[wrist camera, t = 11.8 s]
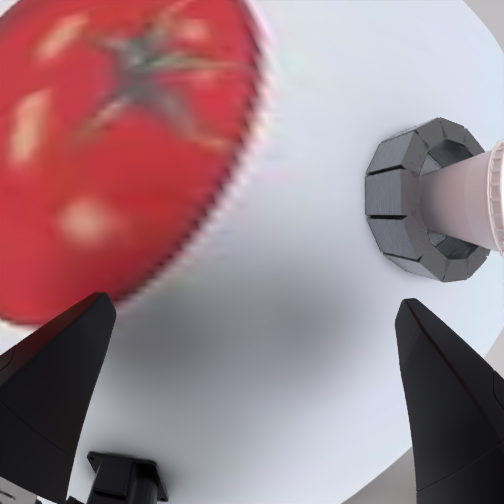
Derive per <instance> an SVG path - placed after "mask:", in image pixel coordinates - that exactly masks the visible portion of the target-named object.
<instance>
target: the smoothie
mask: <svg viewBox="0 0 504 504" xmlns="http://www.w3.org/2000/svg"><path fill="white" fill-rule="evenodd" d="M419 212H420V215H421V217H422V220H423V223H424V225H425V228H426V229H427V230H430V231H434V232H437V233H441V234H444V235H447V236H451V237H454V238H457V239H460V240H464V241H467V242H470V243H473V244H476V245H479V246H482V247H485V248H487V249H491V250H494V251H497V252H499V253H500V255H501V256H502V257H503V258H504V140H502V141H499V142H497V144H496V145H495V146H494V148H493V149H492V150H491V151H488V152H485V153H482V154H479V155H477V156H474V157H471V158H468V159H466V160H463V161H460V162H457V163H455V164H452V165H449V166H447V167H444V168H441V169H438V170H436V171H433V172H430V173H428V174H425V175H422V176H420V177H419Z"/></svg>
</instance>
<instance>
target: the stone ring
mask: <svg viewBox="0 0 504 504" xmlns="http://www.w3.org/2000/svg"><path fill="white" fill-rule="evenodd" d="M427 153H429V154H430V155H431V156H432V157H433V158H434V159H435V160H436V161H437V162H438V163H439V164H440V165H441V166H442V167H443V168H444V167H447V166H449V165H452V164H455V163H457V162H460V161H463V160H466V159H468V158H471V157H474V156H477V155H479V154H482V153H485V151H484V150H483V148H482V147H481V146H480V144H479V143H478V142H477V141H476V139H475V138H474V137H473V136H472V134H471V133H470V132H469V131H468V130H467V129H466V128H465V129H464V126H462V125H459V124H457V123H454V122H452V121H449V120H446V119H444V118H441V117H440V118H435V119H432V120H430V121H427V122H425V123H422V124H420V125H417V126H415V127H412V128H410V129H407V130H405V131H402V132H400V133H398V134H396V135H395V136H393V137H391V138H389V139H387V140H385V141H383V142H382V144H379V146H378V148H377V151H376V153H375V155H374V157H373V159H372V161H371V163H370V165H369V168H368V170H367V172H366V174H368V175H369V176H367V177H365V200H366V215H372V216H370V217H369V218H367V221H368V223H369V226H370V228H371V230H372V232H373V234H374V237H375V239H376V241H377V244H378V246H379V248H380V251H381V252H384V253H383V255H385V256H386V257H388V258H389V259H390V260H392V261H393V262H394V263H396V264H397V265H398V266H400V267H401V268H402V269H404V270H405V271H408V272H411V273H414V274H418V275H421V276H424V277H428V278H431V279H434V280H437V281H441V282H452V281H460V280H467V278H470V277H471V276H472V275H473V274H474V272H475V271H476V270H477V269H478V268H479V267H480V266H481V265H482V264H483V263H484V261H485V260H486V259H487V257H486V256H488V255H489V253H490V250H491V249H487V248H485V247H482V246H479V245H476V244H473V243H470V242H467V241H464V240H460V239H457V238H454V237H451V236H447V237H446V239H445V240H444V241H443V242H441V243H440V244H439V245H438V246H437V247H436V248H435V247H434V246H433V245H432V244H431V242H430V239H429V237H428V234H427V231H426V228H425V225H424V223H423V220H422V217H421V215H420V212H419V174H420V171H421V168H422V166H423V163H424V160H425V158H426V155H427Z"/></svg>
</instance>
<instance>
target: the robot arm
mask: <svg viewBox="0 0 504 504" xmlns="http://www.w3.org/2000/svg"><path fill="white" fill-rule="evenodd" d="M115 319H116V310H115V308H114V306H113V304H112V301H111V299H110V297H109V295H108V294H107V293H106V292H98V291H97V292H94V293H93V294H91V295H89V296H88V297H86V298H85V299H83V300H82V301H80V302H78V303H77V304H75V305H74V306H72V307H71V308H69V309H68V310H66V311H65V312H63V313H62V314H60V315H59V316H57V317H56V318H54V319H52V320H51V321H50V322H48V323H47V324H45V325H44V326H42V327H41V328H39V329H38V330H36V331H35V332H33V333H32V334H30V335H29V336H28V337H26V338H25V339H23V340H22V341H20V342H19V343H18V344H17V345H15V346H13V347H12V348H10V349H9V350H8V351H6V352H5V353H3V354H2V355H0V504H42V503H41V501H39V500H38V499H37V496H40V497H42V498H45V499H47V500H49V501H52V502H54V503H57V504H84V503H82V502H80V501H78V500H76V498H74V497H72V496H69V498H68V500H66V497H67V491H68V486H69V481H70V476H71V472H72V467H73V463H74V458H75V454H76V450H77V446H78V442H79V438H80V434H81V431H82V427H83V423H84V420H85V417H86V413H87V410H88V407H89V403H90V400H91V397H92V394H93V391H94V388H95V385H96V382H97V379H98V376H99V373H100V370H101V367H102V364H103V362H104V359H105V356H106V352H107V348H108V345H109V341H110V337H111V333H112V330H113V326H114V323H115ZM395 330H396V338H397V346H398V354H399V364H400V372H401V377H402V382H403V387H404V393H405V398H406V404H407V410H408V416H409V423H410V430H411V437H412V445H413V454H414V464H415V477H416V491H417V493H416V498H417V504H504V379H503V378H502V377H501V376H500V375H499V374H498V373H497V372H496V371H494V370H493V368H492V367H491V366H490V365H489V364H488V363H487V362H486V361H485V360H484V359H483V358H482V357H481V356H480V355H479V354H478V353H477V352H476V351H475V350H474V349H472V348H471V347H470V346H469V345H468V344H467V343H466V342H465V341H464V340H463V339H462V338H461V337H460V336H458V335H457V334H456V333H455V332H454V331H453V330H452V329H451V328H450V327H449V326H447V325H446V324H445V323H444V322H443V321H442V320H441V319H440V318H438V317H437V316H436V315H435V314H434V313H433V312H432V311H430V310H429V309H428V308H427V307H426V306H425V305H423V304H422V303H421V302H420V301H419V300H417V299H416V298H409V299H403V300H402V302H401V305H400V308H399V311H398V313H397V316H396V319H395ZM87 458H88V460H89V462H90V464H91V466H92V468H93V470H94V472H95V473H96V476H95V479H94V481H93V484H92V489H91V491H90V494H89V497H88V500H87V503H86V504H157V501H162V502H167V501H168V495H167V492H166V489H165V487H164V484H163V481H162V479H161V476H160V473H159V470H158V467H157V465H156V463H154V462H152V461H145V460H136V459H128V458H121V457H114V456H108V455H102V454H97V453H92V452H89V453H88V455H87Z"/></svg>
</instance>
